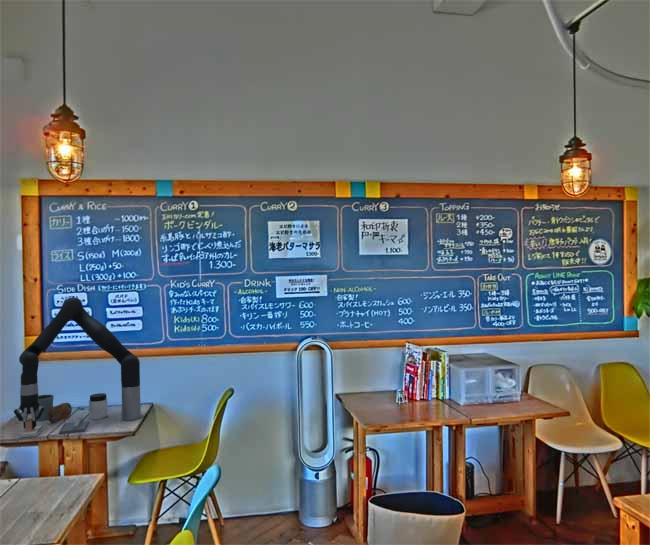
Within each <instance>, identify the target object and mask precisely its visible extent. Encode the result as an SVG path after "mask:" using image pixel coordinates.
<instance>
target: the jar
mask: <svg viewBox="0 0 650 545" xmlns="http://www.w3.org/2000/svg"><path fill="white" fill-rule="evenodd" d="M88 409H89V410H88V415H89V419H90V420H93V419H94V420H101V419H100V418H102V419H104V417H105V418H106V416H107V417H108V398H107V393H105V392H103V393H101V392H99V393H94V394H91V395H89V401H88Z"/></svg>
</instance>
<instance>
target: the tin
mask: <svg viewBox="0 0 650 545" xmlns="http://www.w3.org/2000/svg"><path fill="white" fill-rule="evenodd" d="M72 411H73V409H72V405H71V403H69V402H61V403H60V404H57V405H53V407H52V408H50V409H49V411H48V420H47V421H48V422H50V423H52V424H53V423H56V422H57V423H59V421H60V422H61V420H62V421H64V420H66V418H67V419H68V418H70V416H71V414H72ZM63 419H64V420H63ZM57 423H56V424H57Z"/></svg>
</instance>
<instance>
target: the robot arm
mask: <svg viewBox="0 0 650 545" xmlns="http://www.w3.org/2000/svg"><path fill="white" fill-rule="evenodd" d="M71 320H72V321H73V322H74V323H75V324H77V325H78V326H79V327H80V328H81V329H82V331H83V332H84V333H85V334H86V335H87V336H88V337H89V338H90V339H91V340H92V341H93V343H94V344H96V346H98V347H99V348H100V349H102V350H103V351H105V352H106V353H108V354H110V355H111V356H112V357H113V358H114V359H115V360H116V361H117V363H119V365H120V378H121V379H120V381H121V420H122V419H123V421H134V420H138V419H141V416H142V413H141V410H142V409H141V406H142V405H141V402H142V401H141V372H140V371H141V370H140V369H141V368H140V367H141V362H140V359H139V358H138V357H137V355H135V354H134V353H132V352H131V351H130V350H128V349H127V348H126V347H125V346H124V345H123V343H121V342H120V340H119V339H118V338H117V337H116V336H115V334H113V332H112V331H110V330H109V328H108V327H106V326H105V324H103V323H102V322H100V321H99V320H97V319H96V318H94V317H93V316H92V315H90V314H89V313H88V312H87V310H86V309H85V308H84V307H83V302H82V300H81V299H79V298H78V297H75V296H72V297H68V298H66V299H65V300H64V301H63V303H62V305H61V307H60V310H59V311H58V312H57V314H56V315H55V316H54V318H53V319H52V320H51V321H50V322H49V323H48V325H46V327H45V328H44V329H42V331H41V332H40V333H39V335H37V336H36V338H35V339H34V341H33V342H32V343H31V344H30V345H28V347H26V348H25V350H23V351H22V353H21V354H20V356H19V357H18V361H19V363H20V364H21V365H22V368H21V369H22V372H21V373H20V374H21V375H20V388H19V395H20V396H19V397H20V399H19V401H20V405H19V407H18V408H15V409H14V410H13V413H14V414H15V416H16V418H17V420H18V421H19V422H23V429H25V422H26V421H27V420H28V416H29V415H30V416H31V418H32V420H33V421H32V429H34V428H35V427H36V426H37V421H36V420H37V419H39V418H40V417H41V415H42V413H43V411H44V409H45V406H43V407H42V406H40V404H39V402H38V396H39V384H38V381H39V380H38V370H39V363H40V361H39V356H40V355H41V354H42V353H43V352H46V351H47V349H49V347H50V346H51V344H53V342H54V341H55V339H56V338H57V337H58V336H59V334H60V333H61V331H62V330H63V329H64V328H65V326H66V325H67V324H68V323H69V321H71ZM38 408H39V411H40V412H39V414H38V416H37V417H36V411H37V409H38ZM21 412H22V413H23V416H22V414H21Z"/></svg>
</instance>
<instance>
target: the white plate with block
mask: <svg viewBox="0 0 650 545" xmlns="http://www.w3.org/2000/svg"><path fill="white" fill-rule="evenodd" d="M32 421H33V420H32V417H30V418H27V421H26V422H25V428H24V430H23V432H21V433H20V439H22V438H24V439H25V438H31V437H38V436H39V435H40V434H41V432H42V431H43V430H44V425H38V426H37V425H36V427H35V428H34V429H32Z"/></svg>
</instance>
